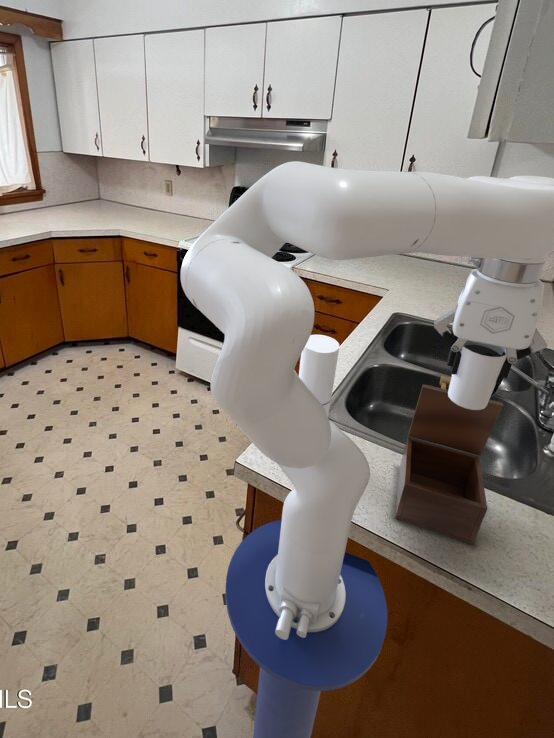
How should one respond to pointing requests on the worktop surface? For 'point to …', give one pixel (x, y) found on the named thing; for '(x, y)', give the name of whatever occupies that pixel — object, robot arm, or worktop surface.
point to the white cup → (476, 375)
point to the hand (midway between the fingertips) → (474, 373)
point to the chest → (441, 490)
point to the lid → (452, 420)
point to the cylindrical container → (319, 367)
